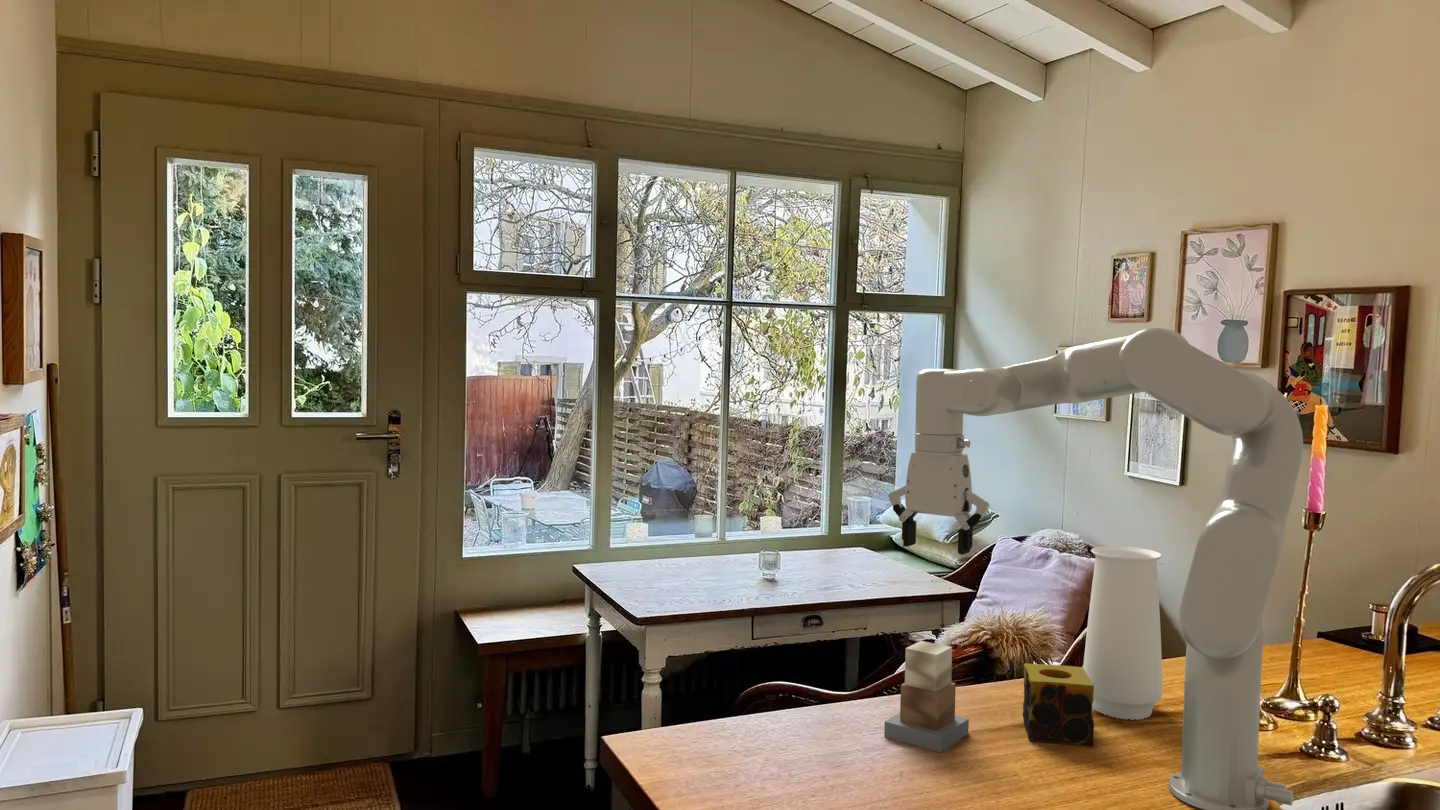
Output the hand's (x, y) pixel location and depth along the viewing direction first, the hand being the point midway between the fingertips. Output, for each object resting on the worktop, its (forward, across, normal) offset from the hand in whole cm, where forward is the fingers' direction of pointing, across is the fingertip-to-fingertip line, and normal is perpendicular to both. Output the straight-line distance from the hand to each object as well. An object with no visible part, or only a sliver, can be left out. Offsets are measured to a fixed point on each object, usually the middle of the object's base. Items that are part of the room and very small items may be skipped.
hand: (936, 549), depth 160 cm
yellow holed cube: (+31, -16, -13) cm, 37 cm away
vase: (+31, -21, -31) cm, 48 cm away
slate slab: (+30, 0, +2) cm, 30 cm away
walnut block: (+28, 0, +2) cm, 28 cm away
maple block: (+22, 0, +2) cm, 22 cm away
